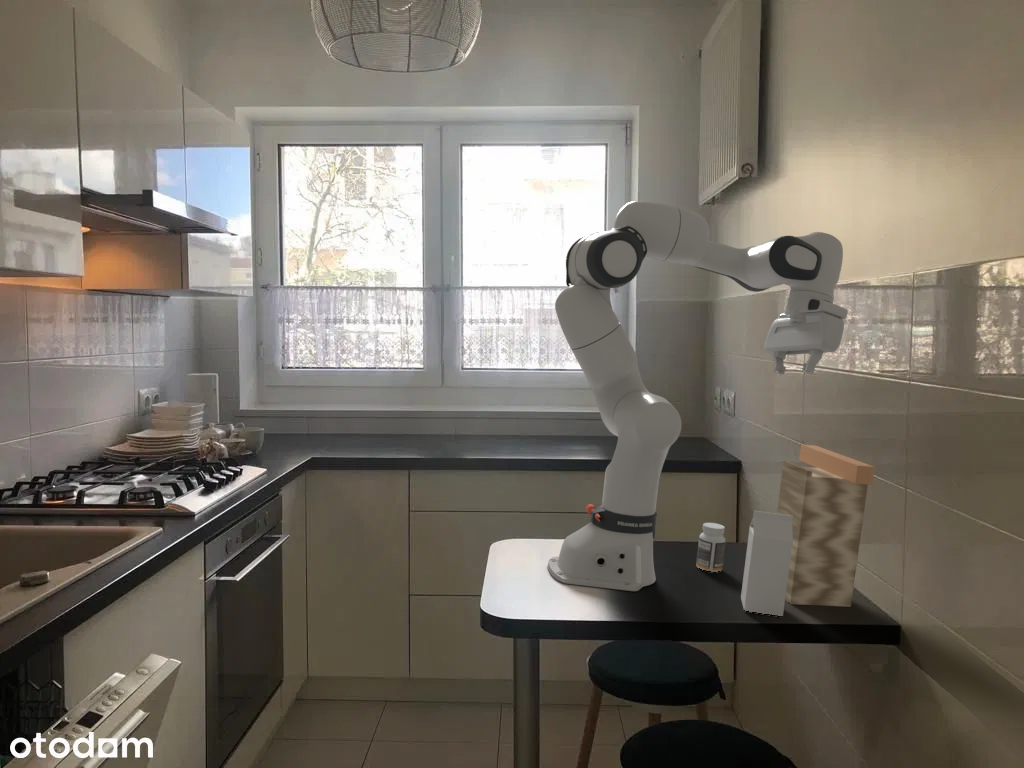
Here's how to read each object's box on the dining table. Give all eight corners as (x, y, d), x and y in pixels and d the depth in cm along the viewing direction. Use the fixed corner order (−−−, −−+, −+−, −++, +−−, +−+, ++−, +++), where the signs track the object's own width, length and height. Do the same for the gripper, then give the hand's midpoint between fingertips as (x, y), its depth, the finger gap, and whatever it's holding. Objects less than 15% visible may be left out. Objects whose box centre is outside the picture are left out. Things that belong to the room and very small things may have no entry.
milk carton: (782, 618, 145) (795, 520, 143) (743, 612, 146) (756, 515, 144) (777, 605, 152) (789, 511, 150) (740, 599, 153) (752, 506, 151)
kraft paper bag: (790, 604, 153) (807, 471, 150) (767, 585, 163) (783, 460, 160) (850, 606, 155) (869, 475, 152) (824, 588, 165) (841, 464, 162)
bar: (855, 483, 148) (857, 465, 147) (799, 460, 169) (801, 444, 169) (872, 484, 148) (874, 466, 148) (813, 461, 170) (816, 445, 169)
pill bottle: (717, 565, 173) (722, 522, 172) (725, 574, 168) (730, 530, 167) (692, 563, 173) (697, 520, 172) (699, 572, 168) (705, 528, 167)
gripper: (765, 310, 171) (750, 370, 169) (828, 300, 151) (812, 367, 150) (788, 318, 172) (774, 378, 171) (854, 310, 153) (838, 377, 152)
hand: (792, 373), depth 160 cm, fingers open, 8 cm apart
